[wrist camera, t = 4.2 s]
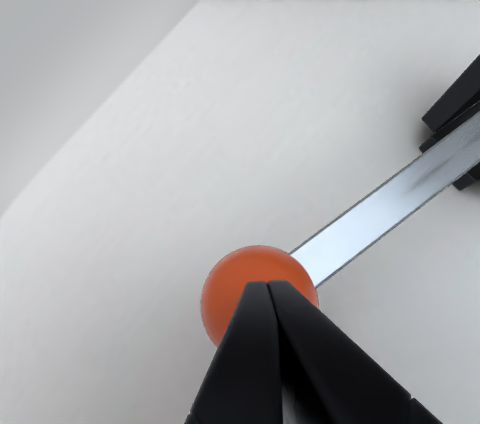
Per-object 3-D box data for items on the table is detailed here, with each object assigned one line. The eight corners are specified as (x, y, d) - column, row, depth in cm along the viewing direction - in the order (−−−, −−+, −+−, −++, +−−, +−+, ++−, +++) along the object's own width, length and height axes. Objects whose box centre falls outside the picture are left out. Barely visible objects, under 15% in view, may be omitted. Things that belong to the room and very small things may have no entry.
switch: (246, 382, 10) (247, 407, 7) (187, 294, 11) (166, 285, 8) (646, 63, 13) (760, -9, 10) (579, 10, 14) (667, -72, 11)
